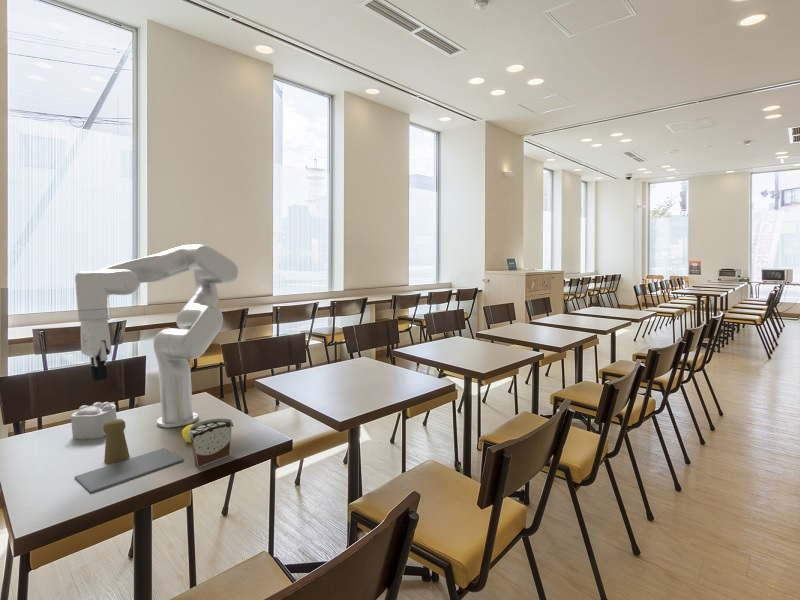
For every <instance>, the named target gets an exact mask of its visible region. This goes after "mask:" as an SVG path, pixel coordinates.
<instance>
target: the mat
mask: <svg viewBox="0 0 800 600" xmlns="http://www.w3.org/2000/svg"><path fill="white" fill-rule="evenodd" d="M184 461H185V460H184V458H183V457H181V456H179V455H177V454H176V453H174V452H172V451H171V450H169V449H167V448H166V447H163V448H159V449H156V450H153V451H150V452H147V453H144V454H140V455H137V456H134V457H131V458H130V457H129V458H128V459H127V460H124V461H121V462H118V463H114V464H108V465H106V466H103V467H100V468H97V469H94V470H91V471H88V472H87V471H86V472H84V473H81V474H77V475H74V479H75V480H76V481H77V482H78V483H79V484H81V486H82V487H83V488H84V489H86V491H88V492H89V494H93V492H94V493H97V492H99V491H102V490H105V489H108V488H111V487H114V486H116V485H119V484H122V483H124V482H127V481H130V480H133V479H136V478H139V477H142V476H144V475H147V474H150V473H152V472H156V471H159V470H162V469H165V468H168V467H171V466H173V465H175V464H176V465H177V464H179V463H181V462H184Z"/></svg>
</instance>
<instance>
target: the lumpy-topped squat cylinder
mask: <svg viewBox="0 0 800 600" xmlns="http://www.w3.org/2000/svg"><path fill="white" fill-rule="evenodd" d="M117 417H118V416H117V405H116V404H114V403H111V402H109V401H105V402H100V401H97V402H94V403H93V404H92V405H87V404H86V405H85V404H84V405H81V406H79V408H78V410H77V411H75V412H73V413H72V414H71V415H70V422H71V423H70V424H71V432H72V433H71V434H72V439H73V438H74V439H73V440H84V438H89V439H88V440H94V439H95V438H96V439H99V438H103V437H106V433H105V432H104V429H103V427H104V424H105V423H106V422H107V421H109V420H113V419H118V418H117ZM82 438H83V439H82Z"/></svg>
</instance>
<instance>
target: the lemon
mask: <svg viewBox="0 0 800 600" xmlns="http://www.w3.org/2000/svg"><path fill="white" fill-rule="evenodd" d="M193 425H194V423H190V424H188V425H185V427H184V428H183V429H181V434H182V438H183V439H184V441H186V442H187V443H191V441H190V440H189V439H188V433H189V430H190V428H191V427H192V426H193Z"/></svg>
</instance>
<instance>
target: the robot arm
mask: <svg viewBox="0 0 800 600" xmlns="http://www.w3.org/2000/svg"><path fill="white" fill-rule="evenodd" d="M192 270H193V276H194V281H195V291H194V292H193V294H192V296H191V297H190V298H189V299H188V301H187V302H186V304H184V306H183V307H182V309H181V310H180V311H179V313H178V314H177V316H176V320H175V321H176V326H177V327H178V328H164V329H162V330H160V331H159V332H157V334H156V335H155V337H154V338H153V350H154V354H155V357H156V362H157V369H158V383H159V396H160V411H161V416H160V417H159V418H157V420H156V425H157V426H158V427H160V428H178V427H182V426H187V425H190V424H194V423H195V422H196V421H197V420H198V419H199V414H198V413H197V412H194V409H193V394H192V392H193V391H192V376H191V375H192V374H191V366H190V362H189V360H194V359H199V358H200V357H201V356H203V355H204V353H205V352H206V351H207V349H208V348H209V347H210V345H211V344H212V342H213V340H215V338H216V337H217V335H218V333H219V332H220V331H221V328H222V326H223V322H224V315H223V312H222V310H221V309H220V308H219V307H217V304H218V303H219V293H218V290H217V289H218V288H217V285H216V284H218V285H219V284H222V285H223V284H225V285H226V284H227V285H228V284H231V283H233V282H235V281H236V280H237V279H238V276H239V269H238V266H237V264H236V263H235V262H234V261H233V260H232V259H230V258H228V257H227V256H225V255H223V254H222V253H221V252H219V251H218V250H216V249H214V248H212V247H210V246H208V245H206V244H184V245H180V246H177V247H173V248H170V249H167V250H165V251H162V252H159V253H156V254H152V255H147V256H144V257H140V258H136V259H132V260H128V261H123V262H119V263H116V264H113V265H109V266H106V267H103V268H101V269H99V270H87V271H79V272H77V273H76V274H75V277H74V278H75V279H74V280H75V281H74V282H75V283H74V284H75V291H76V292H75V294H76V302H77V303H76V307H77V315H78V316H77V317H78V323H80V352H81V353H82V354H83V355H85V356H86V357H89V362H90V371H91V372H90V373H91V379H92V380H93V381H95V382H98V381H102V380H107V378H108V372H107V361H108V356H109V355H111V353H112V341H111V334H110V332H111V331H110V326H109V322H108V321H109V320H111V319H112V318H111V307H110V296H111V295H112V296H113V295H114V296H127V295H128V296H129V295H131V294H134V293H135V292H136V291H137V290H138V289H139V287H140V284H142V283H143V284H144V283H155V282H160V281H164V280H167V279H168V280H169V279H170V278H172V277H175V276H178V275H180V274H181V275H182V274H183V273H185V272H189V271H192Z"/></svg>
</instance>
